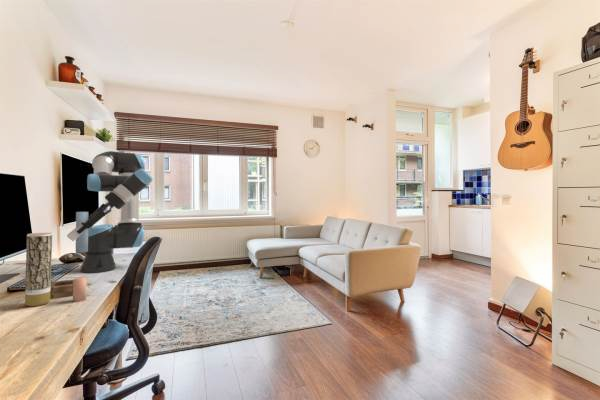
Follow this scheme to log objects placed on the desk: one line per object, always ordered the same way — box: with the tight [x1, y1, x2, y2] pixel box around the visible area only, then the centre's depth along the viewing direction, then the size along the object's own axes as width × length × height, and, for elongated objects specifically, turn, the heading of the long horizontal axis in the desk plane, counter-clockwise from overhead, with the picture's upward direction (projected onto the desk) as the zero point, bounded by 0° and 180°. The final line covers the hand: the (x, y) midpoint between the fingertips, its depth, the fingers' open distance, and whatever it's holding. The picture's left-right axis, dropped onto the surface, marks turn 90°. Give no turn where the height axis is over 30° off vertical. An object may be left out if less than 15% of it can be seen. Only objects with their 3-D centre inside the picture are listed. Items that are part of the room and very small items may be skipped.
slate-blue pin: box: [75, 211, 89, 254], centre depth 120 cm, size 4×4×16 cm
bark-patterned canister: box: [24, 232, 53, 307], centre depth 106 cm, size 7×7×25 cm
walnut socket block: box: [50, 278, 74, 300], centre depth 117 cm, size 10×10×4 cm
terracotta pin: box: [72, 277, 88, 303], centre depth 111 cm, size 4×4×8 cm
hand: (69, 238), depth 117 cm, fingers closed on slate-blue pin, 4 cm apart
